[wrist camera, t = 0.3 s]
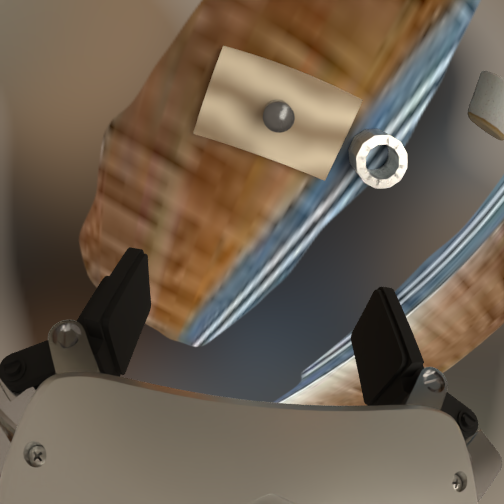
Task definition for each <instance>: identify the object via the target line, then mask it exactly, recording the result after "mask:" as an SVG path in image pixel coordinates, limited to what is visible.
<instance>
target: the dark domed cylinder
mask: <svg viewBox="0 0 504 504" xmlns="http://www.w3.org/2000/svg"><path fill="white" fill-rule="evenodd" d="M294 120H295V115H294V112H293V110H292V109H291V107H290V106H289V105H288V104H287V103H286V102H285V101H283V100H272V101H270V102H268V103H267V104H266V106H265V108H264V112H263V122H264V124H265V126H266V127H267V128H268V129H269V130H271V131H273V132H277V133H281V132H285V131H287V130H289V129H290V128H291V127H292V125H293V124H294Z"/></svg>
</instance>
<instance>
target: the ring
mask: <svg viewBox="0 0 504 504" xmlns="http://www.w3.org/2000/svg"><path fill="white" fill-rule="evenodd" d="M377 145H386V146H387V148H388V158H387V160H386V162H385V164H384V165H383V166H382V167H380V168H379V169H373V170H369V169H367V168H366V157H367V155H368V153H369V151H370V150H371V149H372V148H374V147H375V146H377ZM348 152H349V163H350V164H351V165H352V167H353V168H354V170H355V171H356V173H357V174H358V175H359V177H360V178H361V179H362V180H363V182H364V183H366V184H368V185H370V186H372V187H374V188H376V189H379V188H389V187H391V186H393V185H394V184H395V183H397V182H398V181H400V180H401V178H402V177H403V175H404V173H405V171H406V169H407V152H406V151H405V149H404V147H403V145H402V143H401V142H400V141H399V140H397V139H395V138H394V137H392V136H390V135H388V134H387V133H385V132H383V131H381V130H379V129H365V130H363V131H362V132H360V133H359V134H357V135H356V136H355V137H354V138H353V140H352V142H351V144H350V146H349V148H348Z"/></svg>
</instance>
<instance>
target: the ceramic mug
mask: <svg viewBox="0 0 504 504" xmlns="http://www.w3.org/2000/svg"><path fill="white" fill-rule="evenodd" d="M468 116H469V118H470V120H471V121H472V122H474V123H475V124H476V125H477V126H479V127H480V128H481V129H483V130H484V131H485V132H487V133H488V134H490V135H491V136H493V137H495V138H496V139H499V140H504V78H501V77H500V76H498V75H496V74H494V73H491V72H488V71H482V72H481V74H480V77H479V80H478V83H477V86H476V89H475V92H474V95H473V97H472V100H471V102H470V105H469V109H468Z"/></svg>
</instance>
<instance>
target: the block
mask: <svg viewBox="0 0 504 504" xmlns="http://www.w3.org/2000/svg"><path fill="white" fill-rule="evenodd" d="M272 100H283V101H285V102H286V103H287V104H288V105H289V106H290V107H291V109H292V110H293V112H294V115H295V120H294V124H293V125H292V127H291V128H290V129H289V130H287V131H285V132H281V133H277V132H273V131H271V130H269V129H268V128H267V127H266V126H265V124H264V122H263V112H264V108H265V106H266V104H267V103H268V102H270V101H272ZM362 101H363V100H362V99H360V98H358V97H356V96H354V95H352V94H350V93H348V92H346V91H344V90H342V89H340V88H337V87H335V86H333V85H331V84H329V83H327V82H324V81H322V80H320V79H317V78H315V77H313V76H310V75H308V74H306V73H303V72H301V71H298V70H295V69H293V68H290V67H288V66H285V65H282V64H280V63H277V62H274V61H271V60H268V59H265V58H262V57H259V56H256V55H253V54H250V53H247V52H243V51H240V50H236V49H233V48H229V47H226V46H223V48H222V50H221V53H220V56H219V58H218V61H217V64H216V66H215V69H214V72H213V75H212V77H211V80H210V83H209V86H208V89H207V92H206V95H205V98H204V101H203V104H202V107H201V110H200V113H199V116H198V119H197V123H196V126H195V129H194V132H193V134H196V135H199V136H202V137H206V138H209V139H212V140H215V141H218V142H221V143H225V144H228V145H231V146H234V147H237V148H240V149H243V150H245V151H248V152H251V153H254V154H257V155H260V156H263V157H265V158H268V159H271V160H273V161H276V162H279V163H282V164H284V165H287V166H289V167H292V168H295V169H297V170H300V171H302V172H305V173H307V174H310V175H312V176H315V177H317V178H319V179H322V180H324V181H325V179H326V177H327V175H328V173H329V171H330V169H331V167H332V165H333V163H334V161H335V159H336V156H337V154H338V152H339V150H340V148H341V146H342V144H343V142H344V140H345V137H346V135H347V133H348V131H349V129H350V127H351V125H352V122H353V120H354V118H355V116H356V114H357V112H358V109H359V107H360V105H361V103H362Z"/></svg>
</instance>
